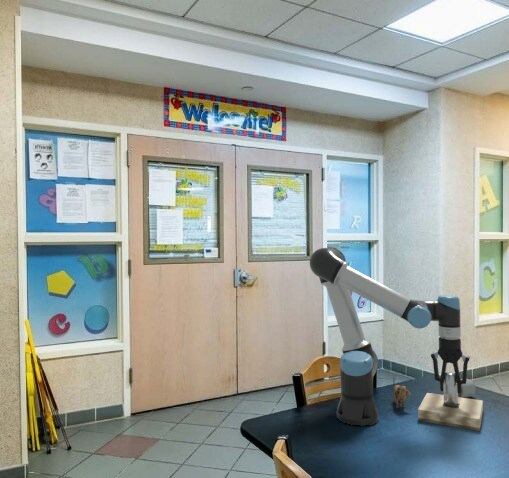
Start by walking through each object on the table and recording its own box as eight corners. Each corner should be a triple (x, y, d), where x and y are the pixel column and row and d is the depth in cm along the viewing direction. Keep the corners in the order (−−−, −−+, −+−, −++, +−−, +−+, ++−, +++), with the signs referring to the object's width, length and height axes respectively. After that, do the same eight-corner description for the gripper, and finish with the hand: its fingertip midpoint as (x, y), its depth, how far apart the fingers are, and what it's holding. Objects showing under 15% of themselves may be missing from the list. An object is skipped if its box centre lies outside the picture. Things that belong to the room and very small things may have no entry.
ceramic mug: (477, 398, 185) (477, 379, 185) (463, 401, 181) (462, 382, 181) (456, 391, 194) (456, 373, 194) (442, 394, 191) (441, 375, 191)
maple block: (418, 420, 163) (417, 409, 163) (427, 402, 181) (427, 392, 181) (479, 431, 153) (479, 419, 153) (483, 411, 171) (482, 400, 171)
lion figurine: (412, 411, 172) (411, 387, 172) (398, 411, 172) (398, 388, 172) (400, 397, 187) (399, 376, 187) (387, 398, 187) (386, 376, 187)
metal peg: (444, 412, 166) (443, 374, 166) (446, 408, 170) (445, 371, 170) (456, 414, 164) (455, 375, 164) (457, 410, 168) (456, 372, 168)
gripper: (424, 337, 168) (426, 400, 168) (473, 341, 160) (474, 407, 160) (427, 333, 174) (429, 394, 174) (474, 337, 166) (476, 401, 166)
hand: (450, 400), depth 167 cm, fingers closed on metal peg, 3 cm apart
